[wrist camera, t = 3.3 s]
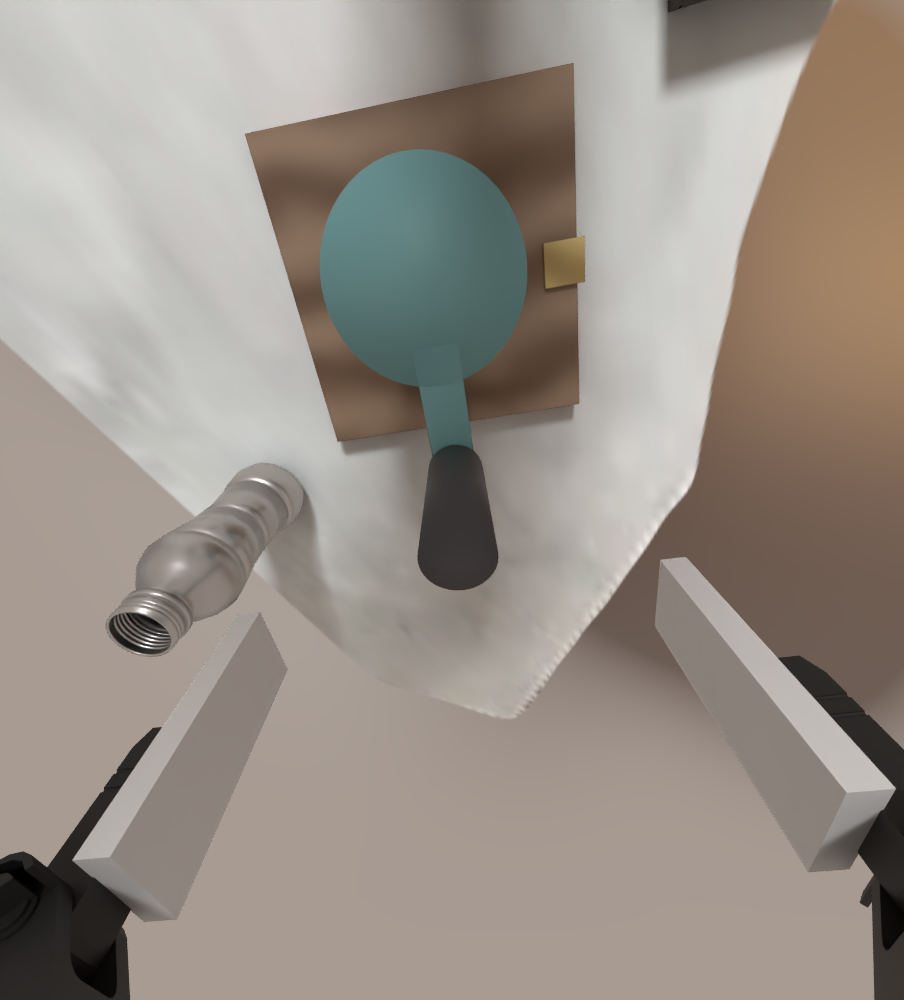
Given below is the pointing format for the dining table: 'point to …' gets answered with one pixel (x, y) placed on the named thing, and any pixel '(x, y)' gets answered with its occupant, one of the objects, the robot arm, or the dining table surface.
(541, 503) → the dining table surface
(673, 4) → the wireless controller
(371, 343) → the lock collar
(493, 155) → the base
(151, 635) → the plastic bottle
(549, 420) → the dining table surface
